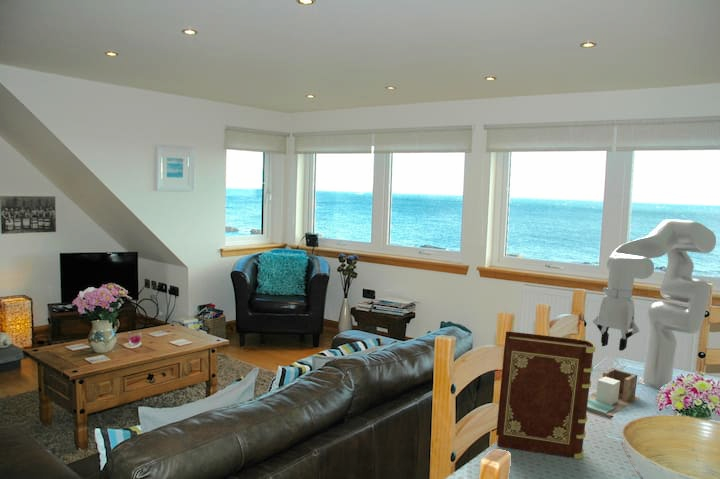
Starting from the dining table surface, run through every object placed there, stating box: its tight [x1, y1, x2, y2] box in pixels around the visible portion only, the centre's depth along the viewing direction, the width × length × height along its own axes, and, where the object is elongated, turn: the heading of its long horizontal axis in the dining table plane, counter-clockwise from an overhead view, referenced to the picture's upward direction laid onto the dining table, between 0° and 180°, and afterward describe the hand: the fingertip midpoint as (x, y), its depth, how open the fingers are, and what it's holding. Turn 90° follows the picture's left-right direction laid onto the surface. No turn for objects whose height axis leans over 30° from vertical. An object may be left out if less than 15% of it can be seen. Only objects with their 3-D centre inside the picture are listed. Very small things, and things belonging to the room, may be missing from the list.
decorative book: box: [495, 331, 596, 460], centre depth 148 cm, size 22×8×30 cm, turn 78°
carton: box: [596, 376, 620, 405], centre depth 184 cm, size 6×5×7 cm
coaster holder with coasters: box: [587, 367, 641, 419], centre depth 184 cm, size 25×12×8 cm, turn 134°
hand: (613, 347), depth 182 cm, fingers open, 4 cm apart
